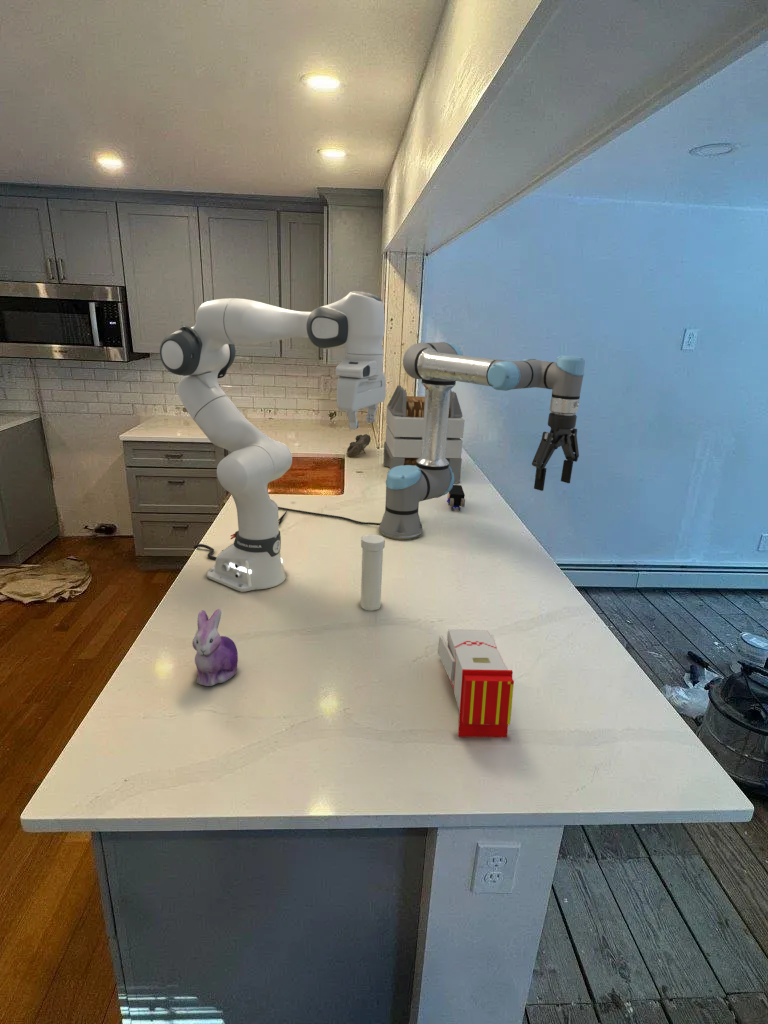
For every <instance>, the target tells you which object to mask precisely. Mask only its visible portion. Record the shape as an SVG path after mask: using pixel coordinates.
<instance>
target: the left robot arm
mask: <svg viewBox="0 0 768 1024" xmlns="http://www.w3.org/2000/svg"><path fill="white" fill-rule="evenodd" d="M385 324H386V323H385V307H384V302H383V300H382V299H381V297H380V296H378V295H376V294H374V293H371V292H367V291H365V292H364V291H361V290H351V291H349V292H348V293H347V294H346V295H345V296H344V297H342V298H340V299H339V300H337V301H334V302H332V303H329V304H326V305H322V306H318V307H316V308H314V309H313V310H312V311H299V310H293V309H288V308H284V307H280V306H276V305H273V304H268V303H265V302H261V301H257V300H252V299H247V298H239V297H238V298H235V297H231V298H229V297H228V298H227V297H226V298H217V299H211V300H208V301H204V302H203V303H201V305H199V306H198V309H197V310H196V313H195V323H194V325H193V326H191V327H190V326H188V325H183V326H181V327H180V328H179V329H177V330H176V331H174V332H171V333H170V334H169V335H167V336H166V337H164V339H163V340H162V341H161V343H160V346H159V357H160V361H161V363H162V365H163V367H164V368H165V369H166V370H167V371H168V372H170V373H172V374H174V375H176V376H181V377H182V378H180V380H179V381H178V383H177V385H176V393H177V395H178V397H179V399H180V401H181V403H182V406H183V407H184V408H185V411H186V412H187V413H188V415H189V416H190V417H191V418H192V420H193V421H194V422H195V424H196V425H197V426H198V428H199V429H200V430H201V431H202V433H203V434H204V435H205V436H206V437H207V439H208V440H209V441H210V443H212V444H213V445H214V446H216V447H219V448H222V449H224V450H226V451H227V452H230V453H229V454H228V455H226V456H225V457H224V458H222V459H220V460H219V463H218V464H217V467H216V477H217V480H218V483H219V484H220V486H221V487H222V488H223V489H224V490H225V491H227V492H228V493H229V494H230V495H231V497H232V498H233V501H234V504H235V507H236V514H237V515H236V516H237V527H238V528H237V529H238V530H236V531H235V532H234V533H233V534H231V535H230V540H233V539H234V541H233V542H232V543H231V544H230V545H228V546H227V547H226V548H224V549H223V550H221V551H220V552H219V553H218V554H217V556H214V555H213V554H214V552H215V549H214V548H213V547H211V546H209V545H207V544H203V543H197V544H195V545H194V546H193V549H198V548H204V549H207V550H209V552H208V553H207V558H208V559H210V560H212V561H213V560H214V561H215V562H214V566H213V567H211V568H209V570H208V571H207V572H206V578H207V579H209V580H210V581H211V580H212V581H213V582H217V583H219V584H221V585H224V586H226V587H228V588H231V589H233V590H236V591H238V592H242V593H245V592H250V591H254V590H265V589H270V588H274V587H276V586H279V585H281V584H282V583H283V582H284V581H285V580H286V577H287V575H286V573H285V569H284V566H283V558H282V556H281V549H282V548H281V547H282V540H281V538H282V537H281V530H280V525H279V521H280V520H279V519H280V518H279V509H278V507H279V505H278V503H276V502H275V500H273V499H271V497H270V493H269V490H268V485H269V483H271V482H274V481H276V480H278V479H280V478H282V477H283V476H284V475H285V474H286V473H287V472H288V471H289V470H290V469H291V467H292V464H293V454H292V452H291V449H290V448H289V446H288V445H286V444H285V443H284V442H282V441H279V440H277V439H274V438H272V437H270V436H269V435H267V434H266V433H265V432H263V431H262V430H260V429H259V428H258V427H257V426H256V425H254V424H253V423H251V421H249V420H248V419H247V418H246V417H245V416H244V414H243V413H242V412H241V411H240V410H239V409H238V408H237V406H236V405H235V404H234V402H233V401H232V400H231V399H230V397H229V396H228V395H227V394H226V393H225V391H224V390H223V389H222V388H221V386H220V384H219V380H218V379H222V378H224V377H225V376H226V374H227V372H228V370H229V368H231V366H232V365H233V363H234V362H235V358H236V346H255V345H256V346H257V345H262V344H267V343H271V342H277V341H282V340H286V339H287V340H288V339H294V338H304V339H305V338H306V339H309V341H310V342H311V343H312V344H313V345H314V346H316V347H317V348H319V349H322V350H337V349H339V350H340V349H344V352H345V353H344V354H345V355H344V358H343V359H342V360H341V362H340V363H339V364H337V365H336V367H335V376H336V377H337V380H336V406H337V408H338V410H339V412H345V413H346V417H347V420H348V428H349V429H350V430H357V429H359V427H360V425H359V423H360V420H358V416H357V415H358V414H359V413H358V412H359V410H363V409H366V408H368V409H367V413H366V415H365V422H366V423H369V424H371V423H374V422H375V421H376V414H377V410H378V404H380V403H383V402H385V400H386V395H387V393H386V391H387V388H386V387H387V386H386V374H385V373H384V348H383V341H384V337H385V329H386V328H385V327H386V326H385Z"/></svg>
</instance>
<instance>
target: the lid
mask: <svg viewBox="0 0 768 1024" xmlns="http://www.w3.org/2000/svg"><path fill="white" fill-rule="evenodd" d="M385 545H386V540H385V537H384V536H383V535H381V534H375V533H374V534H371V533H370V534H365V535H363V536H361V540H360V547H361V549H362V548H363V549H364V550H367V551H380V550H382V549H383V550H384V548H385V547H386V546H385Z"/></svg>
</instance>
